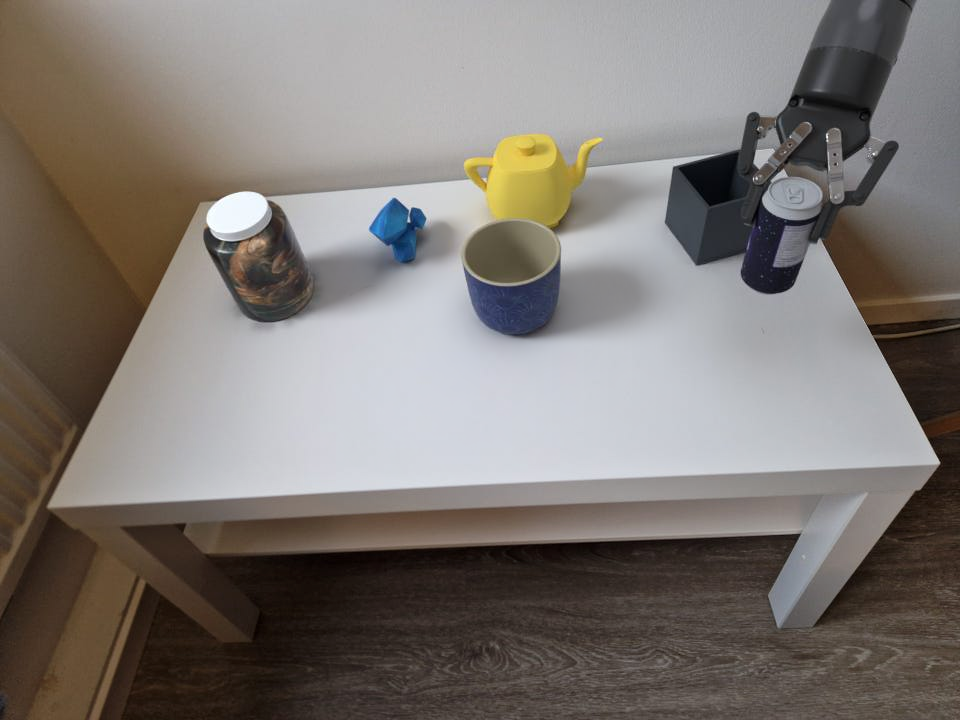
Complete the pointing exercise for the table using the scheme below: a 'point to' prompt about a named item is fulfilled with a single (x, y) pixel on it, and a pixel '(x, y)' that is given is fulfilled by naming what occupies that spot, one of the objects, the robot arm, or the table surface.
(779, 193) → the beverage can
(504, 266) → the planter
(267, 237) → the jar
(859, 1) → the robot arm
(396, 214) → the crystal
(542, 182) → the teapot
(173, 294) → the table surface
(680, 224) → the trash bin
